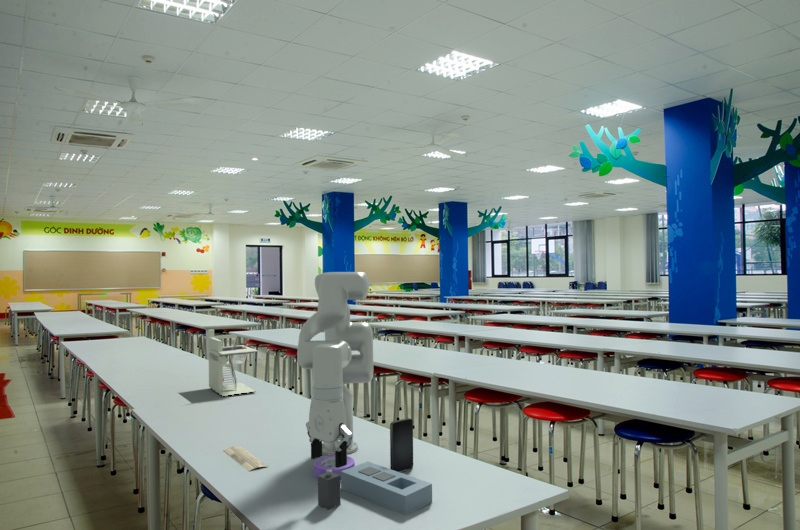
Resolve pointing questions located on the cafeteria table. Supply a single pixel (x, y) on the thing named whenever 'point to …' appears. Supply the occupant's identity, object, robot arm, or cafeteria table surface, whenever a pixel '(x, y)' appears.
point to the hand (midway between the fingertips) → (328, 461)
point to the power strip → (387, 487)
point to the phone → (401, 445)
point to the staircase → (220, 361)
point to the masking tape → (331, 465)
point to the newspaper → (244, 458)
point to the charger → (329, 490)
